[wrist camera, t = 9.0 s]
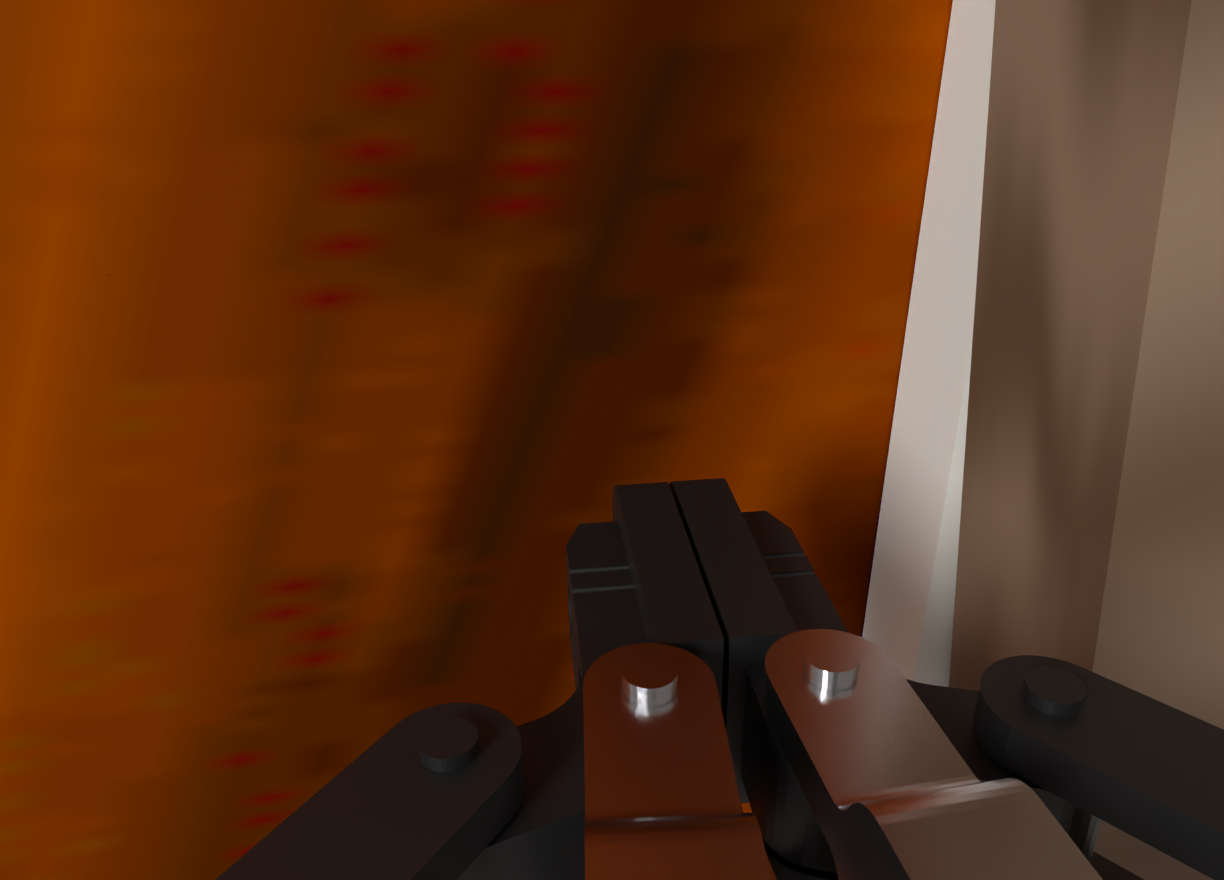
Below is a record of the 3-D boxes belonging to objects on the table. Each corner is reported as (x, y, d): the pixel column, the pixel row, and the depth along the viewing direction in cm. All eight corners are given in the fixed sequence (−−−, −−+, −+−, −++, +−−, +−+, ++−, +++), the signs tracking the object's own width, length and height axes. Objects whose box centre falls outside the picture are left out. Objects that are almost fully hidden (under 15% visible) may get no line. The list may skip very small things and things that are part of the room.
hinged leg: (1016, -489, 11) (1351, -790, 7) (1371, -517, 11) (1913, -823, 7) (926, 922, 21) (1036, 1161, 17) (1114, 890, 21) (1271, 1118, 17)
